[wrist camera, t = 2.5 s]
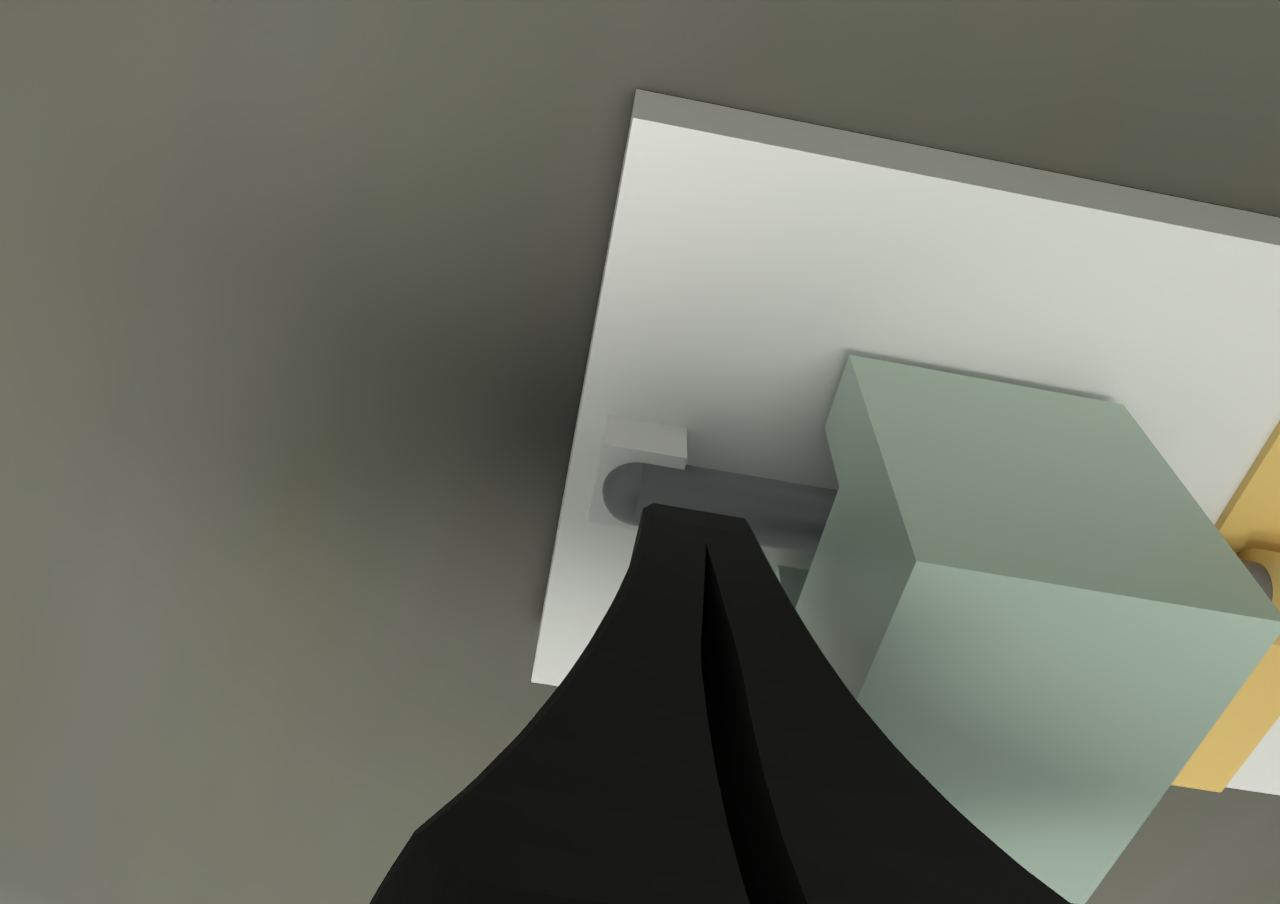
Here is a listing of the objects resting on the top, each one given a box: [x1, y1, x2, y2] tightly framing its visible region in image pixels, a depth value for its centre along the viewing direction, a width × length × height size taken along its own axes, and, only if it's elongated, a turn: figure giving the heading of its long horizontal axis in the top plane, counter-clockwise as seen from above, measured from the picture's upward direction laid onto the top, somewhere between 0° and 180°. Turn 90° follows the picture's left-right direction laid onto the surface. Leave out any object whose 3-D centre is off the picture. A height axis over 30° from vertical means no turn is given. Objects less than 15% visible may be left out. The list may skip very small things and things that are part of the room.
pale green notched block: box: [775, 355, 1280, 904], centre depth 14 cm, size 4×5×4 cm
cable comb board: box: [531, 89, 1280, 795], centre depth 16 cm, size 18×10×4 cm, turn 79°
